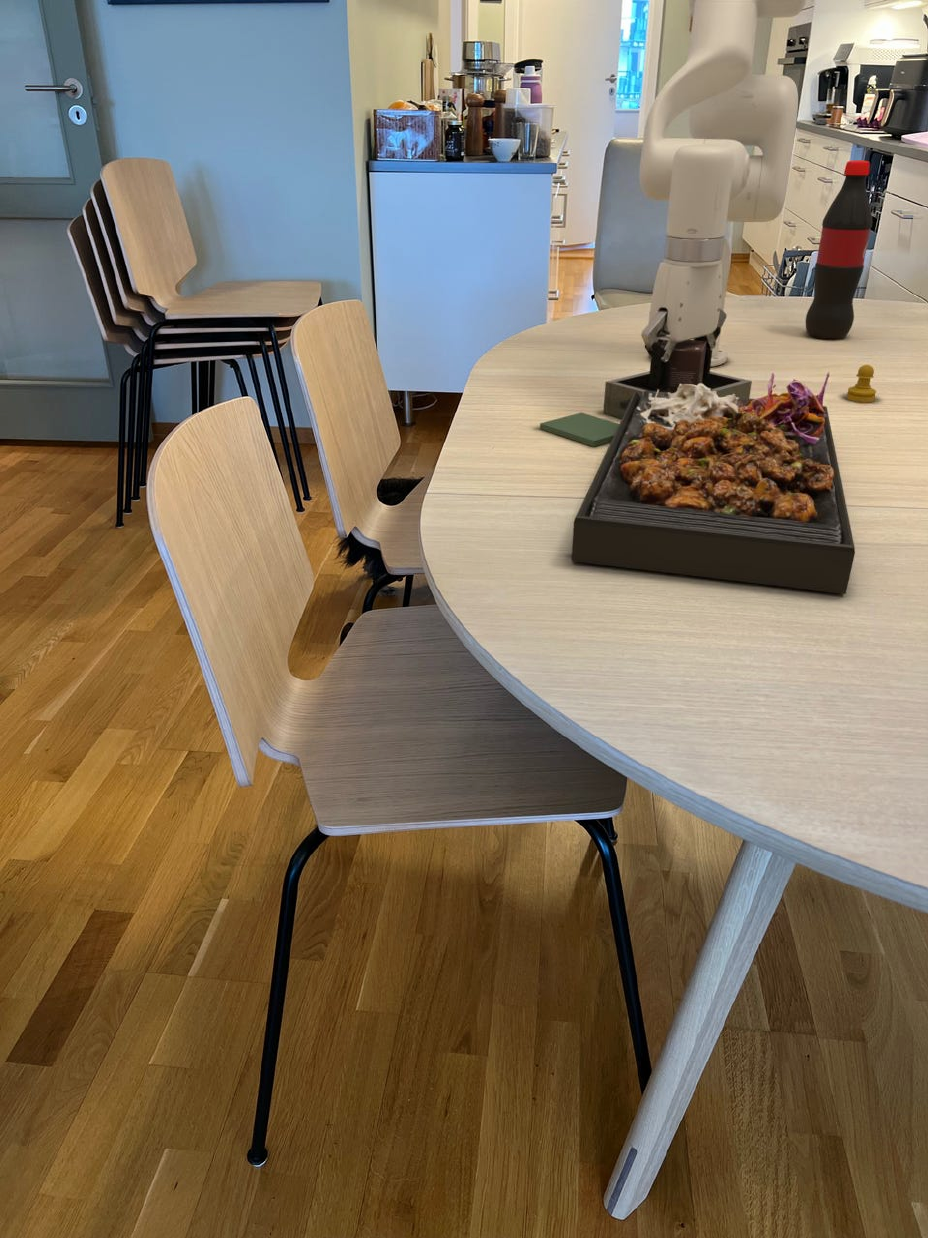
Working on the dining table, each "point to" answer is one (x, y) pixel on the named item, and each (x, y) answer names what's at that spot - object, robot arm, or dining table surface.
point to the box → (686, 364)
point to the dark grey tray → (624, 388)
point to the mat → (582, 428)
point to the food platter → (721, 490)
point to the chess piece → (862, 386)
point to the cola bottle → (841, 256)
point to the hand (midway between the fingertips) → (679, 381)
